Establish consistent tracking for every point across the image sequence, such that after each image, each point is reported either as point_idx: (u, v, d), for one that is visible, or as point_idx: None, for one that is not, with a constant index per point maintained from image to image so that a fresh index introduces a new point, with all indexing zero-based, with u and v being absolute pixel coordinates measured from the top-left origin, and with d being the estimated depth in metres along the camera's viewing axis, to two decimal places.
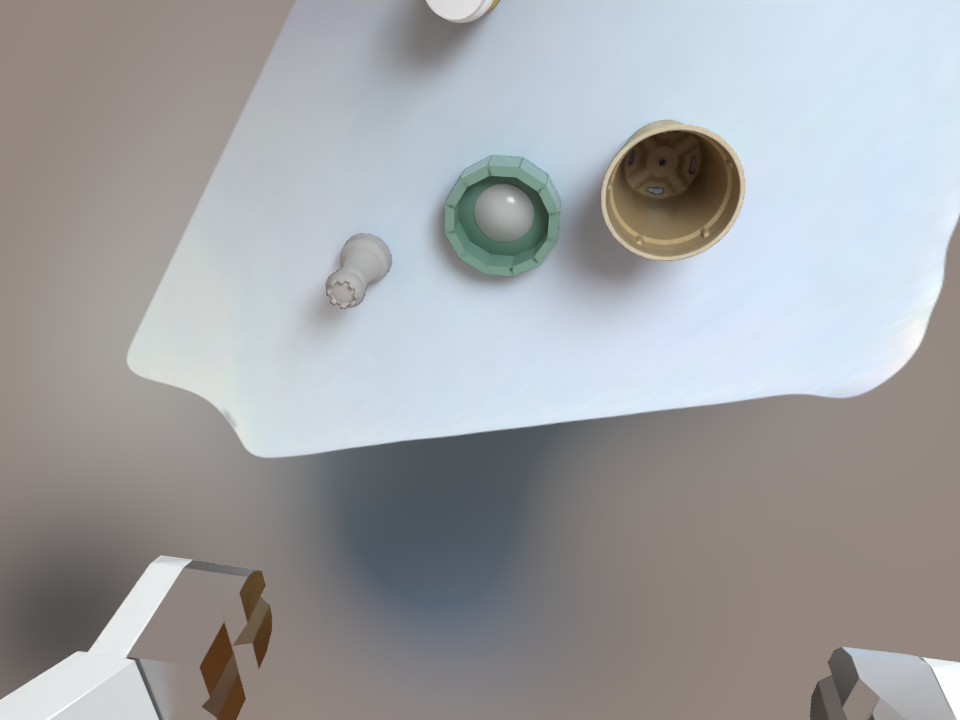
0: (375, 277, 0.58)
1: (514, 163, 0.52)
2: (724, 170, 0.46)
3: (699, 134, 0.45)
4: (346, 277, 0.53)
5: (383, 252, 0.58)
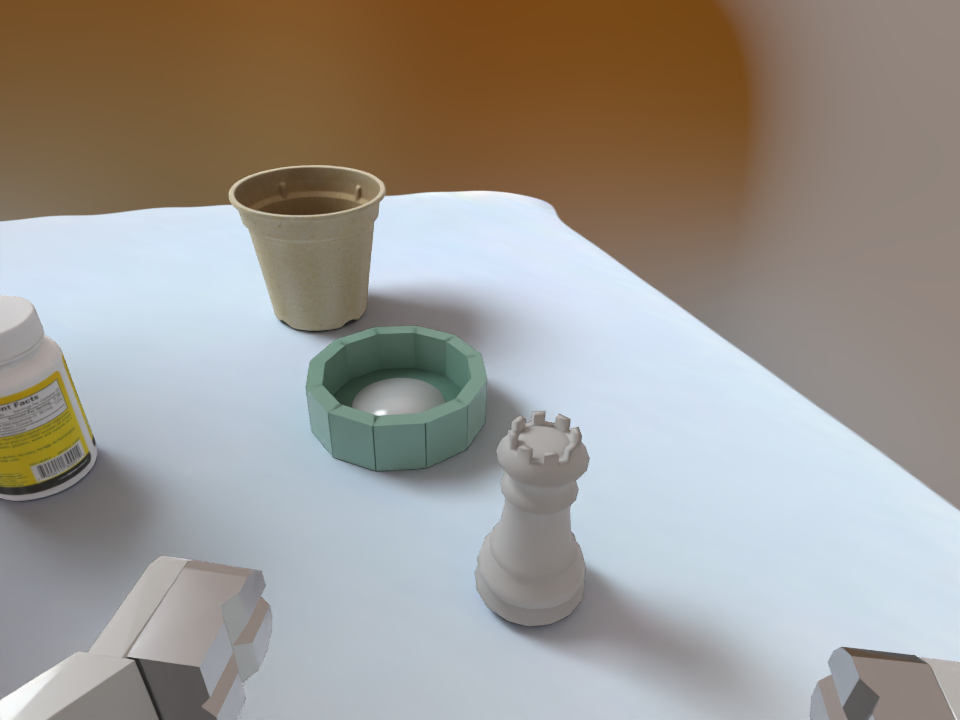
0: None
1: None
2: (297, 206, 0.46)
3: (253, 208, 0.43)
4: (505, 441, 0.24)
5: None
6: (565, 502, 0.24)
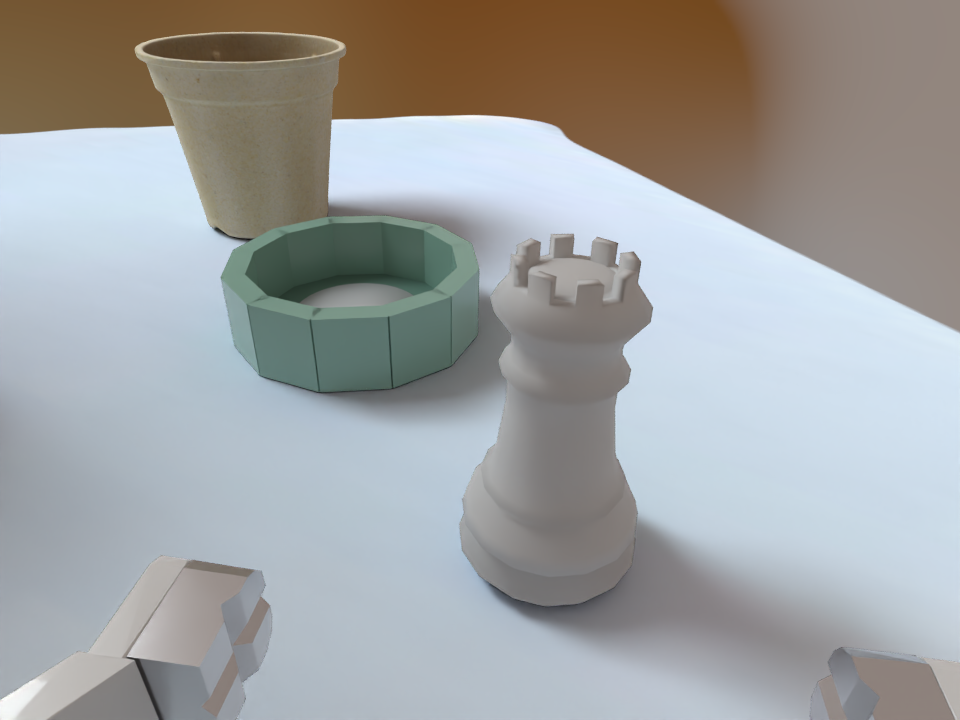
0: None
1: None
2: None
3: None
4: (506, 279, 0.13)
5: None
6: (611, 384, 0.14)
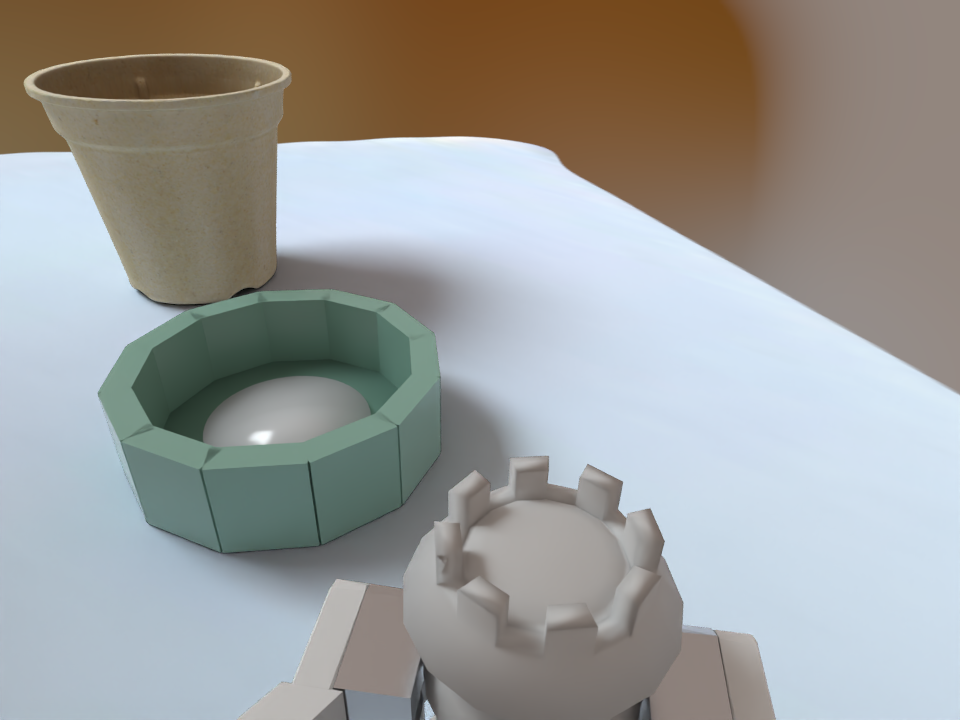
0: None
1: None
2: None
3: None
4: (429, 553, 0.08)
5: None
6: None
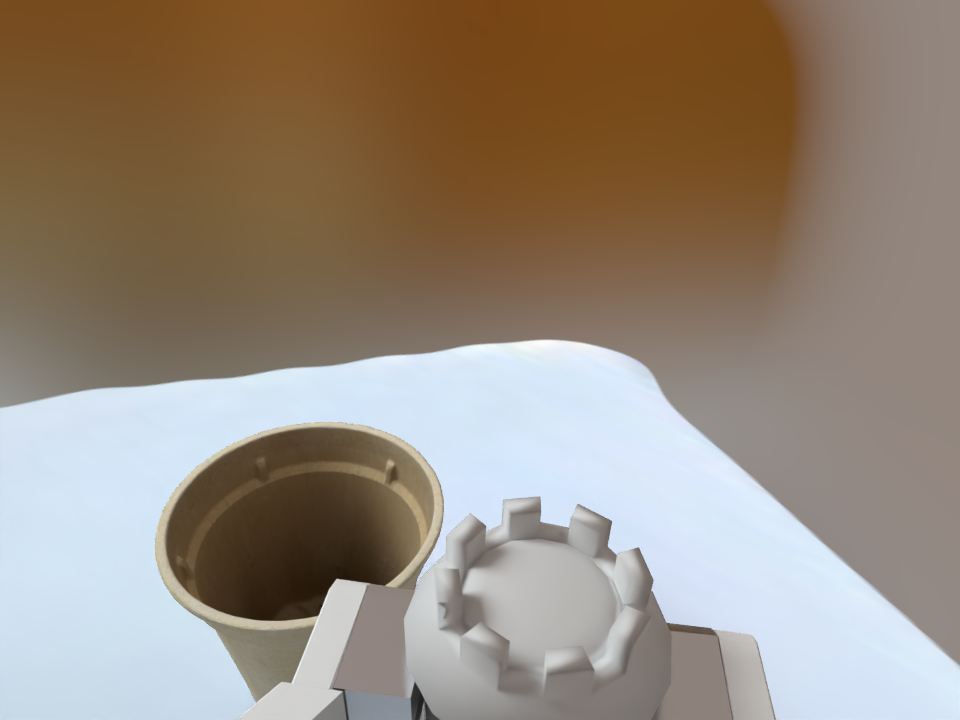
0: None
1: None
2: (287, 489, 0.27)
3: (207, 523, 0.24)
4: (429, 597, 0.08)
5: None
6: None
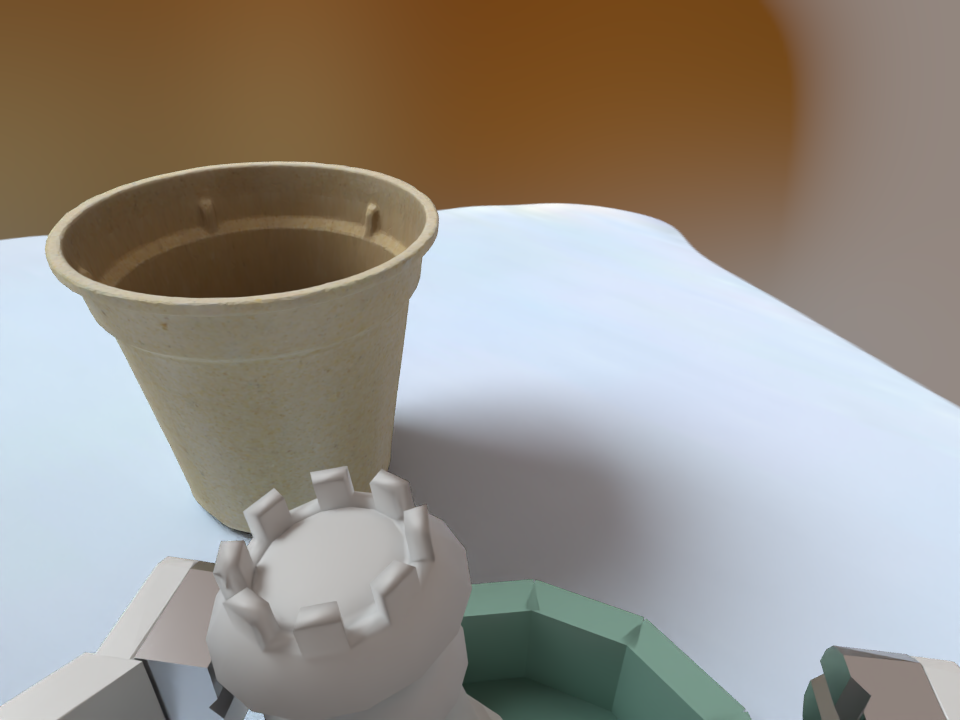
0: None
1: None
2: (241, 250, 0.21)
3: (132, 261, 0.19)
4: None
5: None
6: None
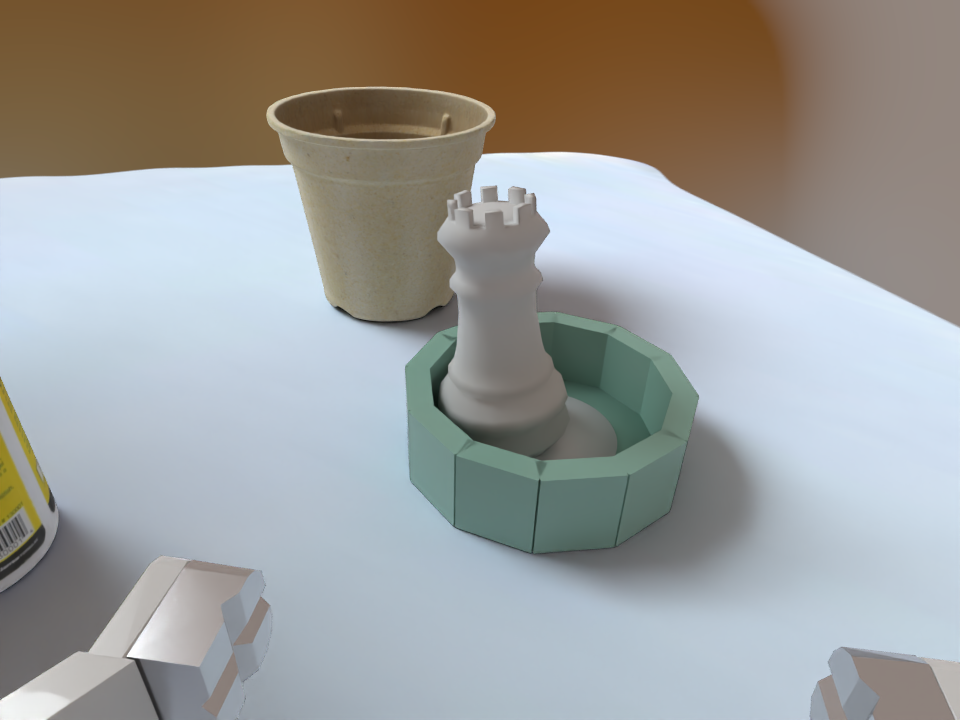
0: None
1: None
2: None
3: None
4: (447, 217, 0.19)
5: None
6: (523, 287, 0.19)
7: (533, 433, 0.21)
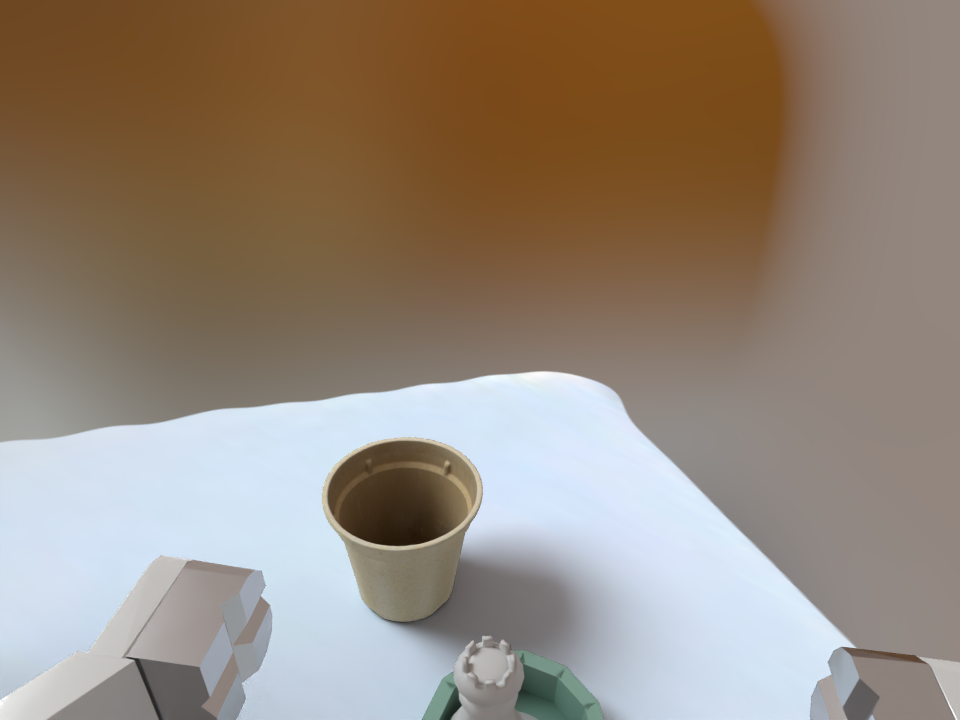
0: None
1: None
2: (382, 478, 0.44)
3: (341, 497, 0.41)
4: (460, 662, 0.31)
5: None
6: (505, 710, 0.31)
7: None
